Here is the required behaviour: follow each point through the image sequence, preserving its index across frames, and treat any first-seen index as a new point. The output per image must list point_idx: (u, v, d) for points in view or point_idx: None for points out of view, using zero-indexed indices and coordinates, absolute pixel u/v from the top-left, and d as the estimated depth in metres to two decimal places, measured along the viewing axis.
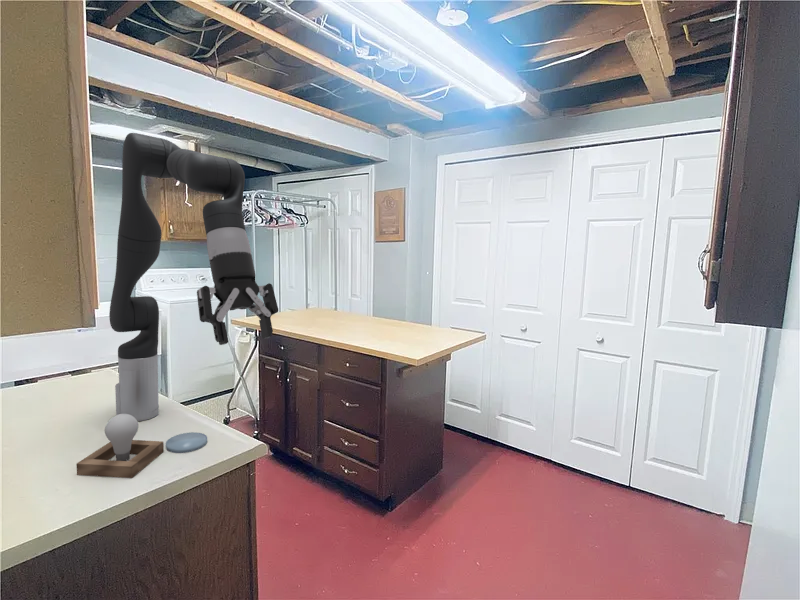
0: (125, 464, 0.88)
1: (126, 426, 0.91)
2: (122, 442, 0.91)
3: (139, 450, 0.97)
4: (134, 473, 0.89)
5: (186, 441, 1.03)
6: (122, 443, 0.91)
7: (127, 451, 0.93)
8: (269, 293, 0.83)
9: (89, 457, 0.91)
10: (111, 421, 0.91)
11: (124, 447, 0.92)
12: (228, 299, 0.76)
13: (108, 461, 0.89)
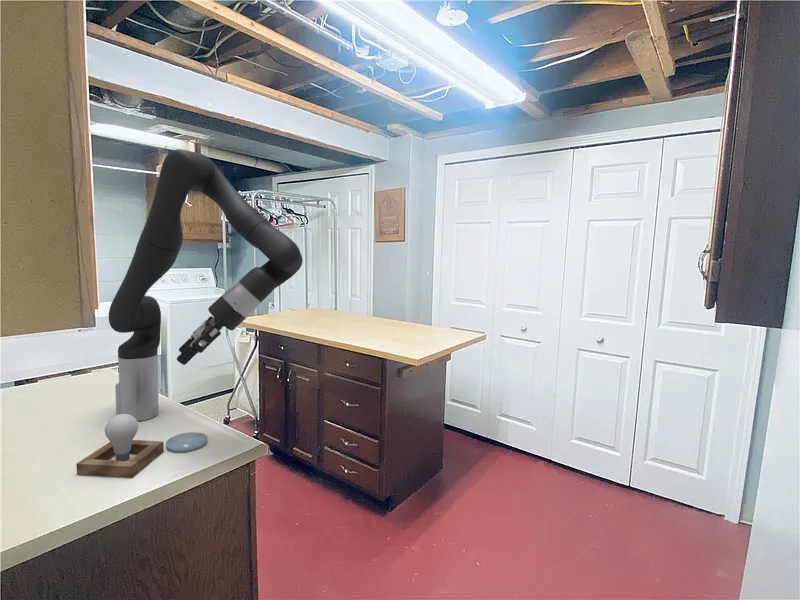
0: (125, 464, 0.88)
1: (126, 426, 0.91)
2: (122, 442, 0.91)
3: (139, 450, 0.97)
4: (134, 473, 0.89)
5: (186, 441, 1.03)
6: (122, 443, 0.91)
7: (127, 451, 0.93)
8: None
9: (89, 457, 0.91)
10: (111, 421, 0.91)
11: (124, 447, 0.92)
12: None
13: (108, 461, 0.89)
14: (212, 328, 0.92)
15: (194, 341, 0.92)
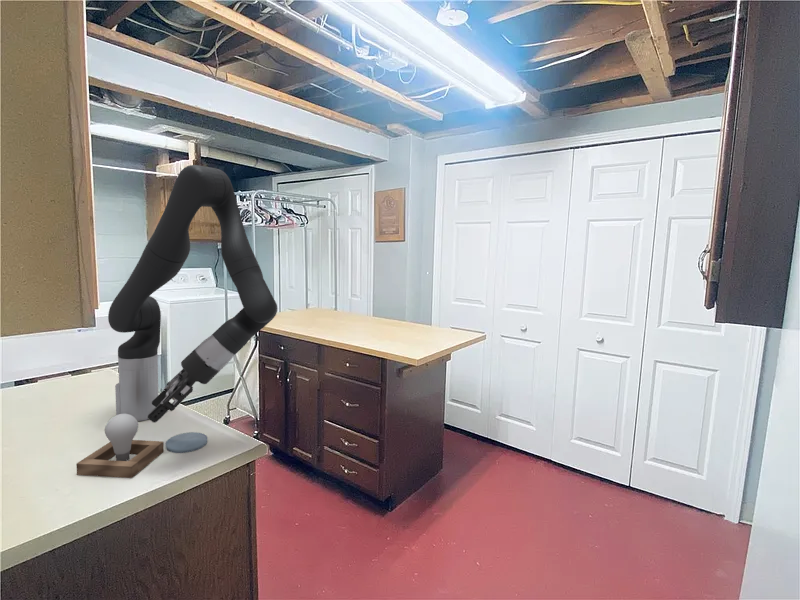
0: (125, 464, 0.88)
1: (126, 426, 0.91)
2: (122, 442, 0.91)
3: (139, 450, 0.97)
4: (134, 473, 0.89)
5: (186, 441, 1.03)
6: (122, 443, 0.91)
7: (127, 451, 0.93)
8: None
9: (89, 457, 0.91)
10: (111, 421, 0.91)
11: (124, 447, 0.92)
12: None
13: (108, 461, 0.89)
14: (183, 386, 0.91)
15: (165, 398, 0.91)
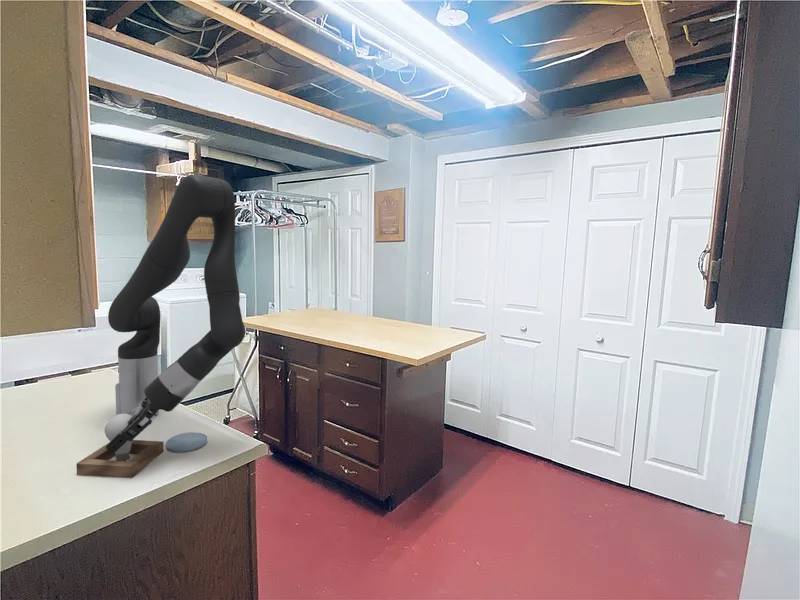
0: (125, 464, 0.88)
1: None
2: None
3: (139, 450, 0.97)
4: (134, 473, 0.89)
5: (186, 441, 1.03)
6: None
7: (127, 451, 0.93)
8: None
9: (89, 457, 0.91)
10: (111, 421, 0.91)
11: (124, 447, 0.92)
12: None
13: (108, 461, 0.89)
14: (141, 418, 0.88)
15: (124, 429, 0.90)
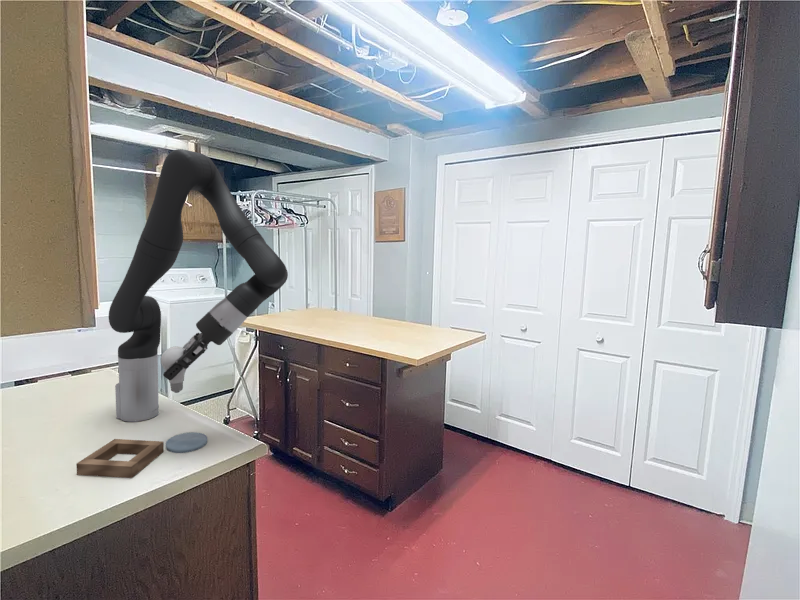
0: (125, 464, 0.88)
1: None
2: None
3: (139, 450, 0.97)
4: (134, 473, 0.89)
5: (186, 441, 1.03)
6: None
7: (181, 381, 0.99)
8: None
9: (89, 457, 0.91)
10: (167, 351, 0.97)
11: (179, 377, 0.99)
12: None
13: (108, 461, 0.89)
14: (196, 346, 0.94)
15: (179, 358, 0.96)
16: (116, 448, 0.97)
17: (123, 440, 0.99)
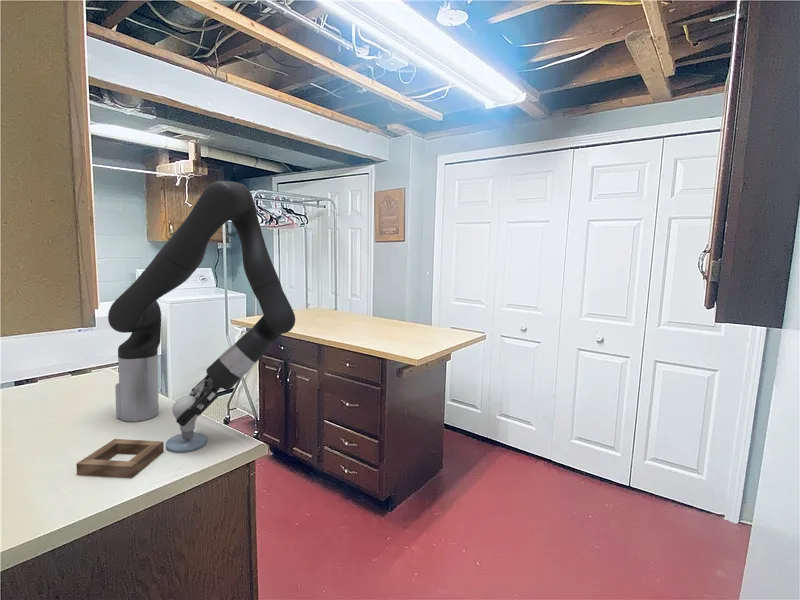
0: (125, 464, 0.88)
1: None
2: None
3: (139, 450, 0.97)
4: (134, 473, 0.89)
5: (186, 441, 1.03)
6: None
7: (192, 429, 1.03)
8: None
9: (89, 457, 0.91)
10: (178, 402, 1.01)
11: (190, 425, 1.02)
12: None
13: (108, 461, 0.89)
14: (209, 392, 0.98)
15: (192, 404, 0.98)
16: (116, 448, 0.97)
17: (123, 440, 0.99)
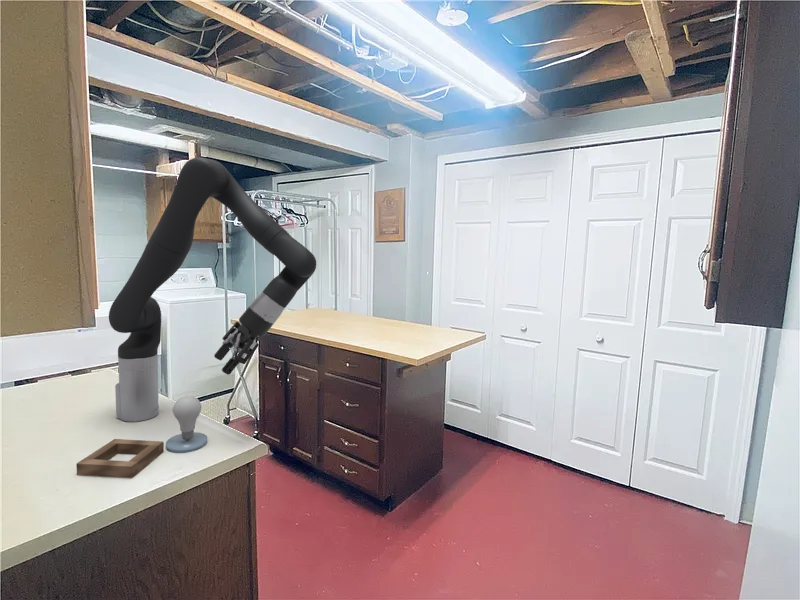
0: (125, 464, 0.88)
1: (192, 406, 1.01)
2: (189, 421, 1.01)
3: (139, 450, 0.97)
4: (134, 473, 0.89)
5: (186, 441, 1.03)
6: (188, 422, 1.01)
7: (192, 429, 1.03)
8: None
9: (89, 457, 0.91)
10: (179, 402, 1.01)
11: (190, 426, 1.02)
12: None
13: (108, 461, 0.89)
14: (251, 342, 1.03)
15: (235, 354, 1.03)
16: (116, 448, 0.97)
17: (123, 440, 0.99)
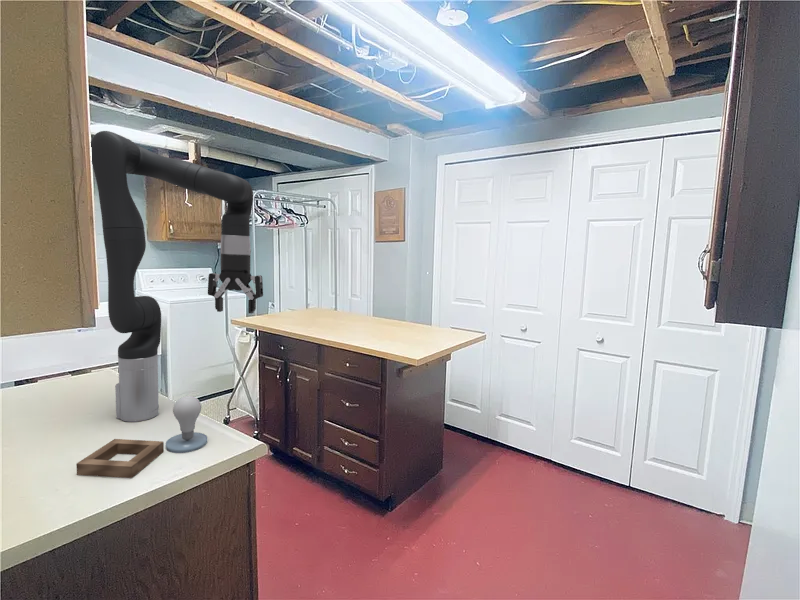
0: (125, 464, 0.88)
1: (193, 406, 1.01)
2: (189, 421, 1.01)
3: (139, 450, 0.97)
4: (134, 473, 0.89)
5: (186, 441, 1.03)
6: (188, 422, 1.01)
7: (192, 429, 1.03)
8: None
9: (89, 457, 0.91)
10: (179, 402, 1.00)
11: (190, 426, 1.02)
12: None
13: (108, 461, 0.89)
14: (259, 277, 1.15)
15: (252, 294, 1.15)
16: (116, 448, 0.97)
17: (123, 440, 0.99)
